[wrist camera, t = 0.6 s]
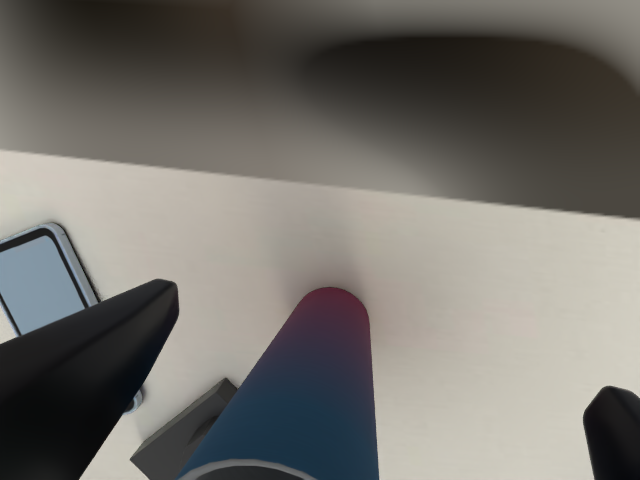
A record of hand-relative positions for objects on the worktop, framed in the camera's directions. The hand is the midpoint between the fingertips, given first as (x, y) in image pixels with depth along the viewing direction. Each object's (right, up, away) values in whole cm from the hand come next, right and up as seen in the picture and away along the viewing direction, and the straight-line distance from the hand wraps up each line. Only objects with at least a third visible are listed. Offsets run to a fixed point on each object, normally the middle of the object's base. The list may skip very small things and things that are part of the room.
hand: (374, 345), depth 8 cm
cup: (0, -3, +17) cm, 18 cm away
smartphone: (-20, -4, +21) cm, 29 cm away
